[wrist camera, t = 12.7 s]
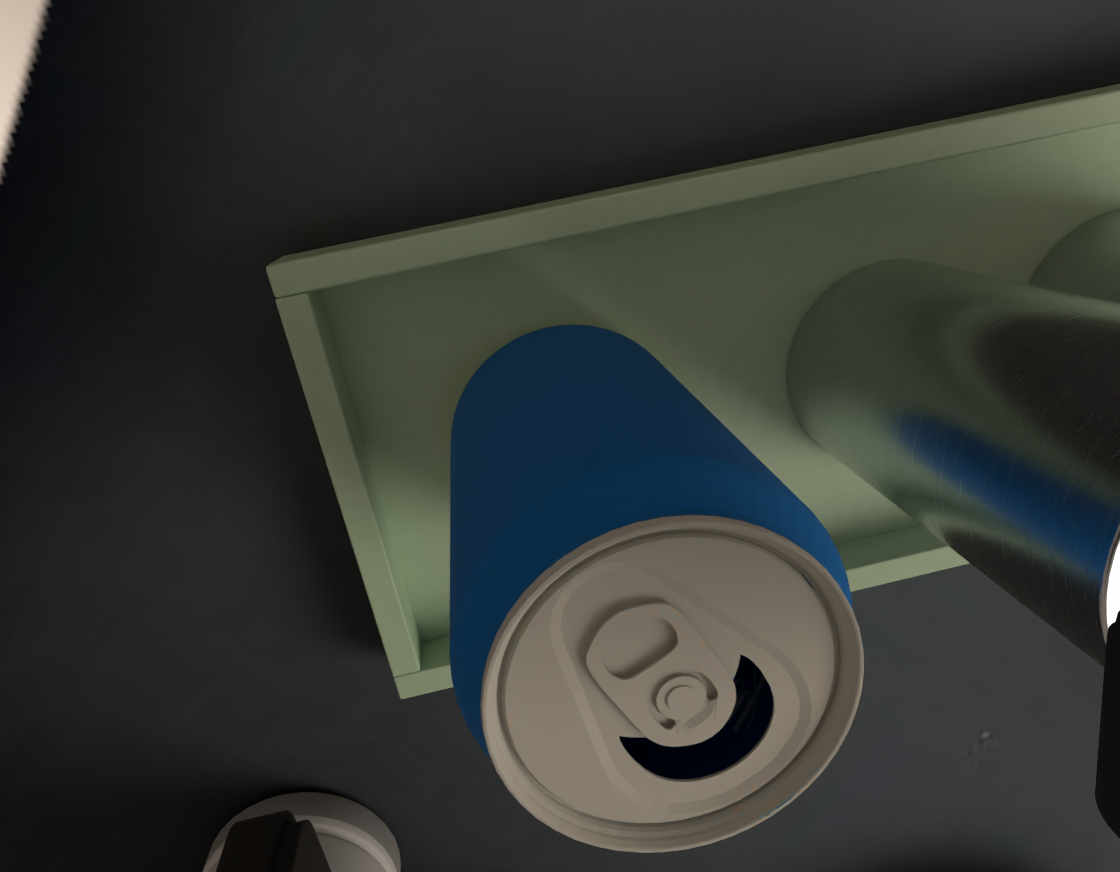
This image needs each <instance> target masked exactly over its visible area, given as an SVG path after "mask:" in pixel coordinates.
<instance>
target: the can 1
mask: <svg viewBox="0 0 1120 872" xmlns="http://www.w3.org/2000/svg"><path fill="white" fill-rule="evenodd" d="M787 390H788V396H789V401H790V404H791V407H792V410H793V413H794V415H795V417H796V419H797V421H798V423H799V424H800V426H801V427H802V429H803V430H804V431H805V433H806V434H807V435H808V436H809V437H810V438H811V439H812V440H813V441H814V442H815V443H817V444H818V445H819V446H820V447H822V448H823V449H824V450H826V451H827V452H828V453H829V454H831V455H832V456H833V457H835V458H836V459H837V460H838V461H840V462H841V463H842V464H844V465H845V466H846V467H847V468H849V469H850V470H851V471H853V472H854V473H855V474H856V475H858V476H859V477H860V478H862V479H863V480H864V481H865V482H867V483H868V484H869V485H870V486H872V487H873V488H874V489H876V490H877V491H878V492H879V493H881V494H882V495H883V496H885V497H886V498H887V499H888V500H890V501H891V502H892V503H894V504H895V505H896V506H897V507H899V508H900V509H901V510H903V511H904V512H905V513H906V514H908V515H909V516H910V517H912V518H913V519H914V520H915V521H917V522H918V523H919V524H921V525H922V526H923V527H924V528H926V529H927V530H928V531H930V532H931V533H932V534H933V535H935V536H936V537H937V538H938V539H940V540H941V541H942V542H944V543H945V544H946V545H947V546H949V547H950V548H951V549H953V550H954V551H955V552H956V553H958V554H959V555H960V556H962V557H963V558H964V559H965V560H967V561H968V562H969V563H971V564H972V565H973V566H974V567H976V568H977V569H978V570H980V571H981V572H982V573H983V574H985V575H986V576H987V577H989V578H990V579H991V580H992V581H994V582H995V583H996V584H998V585H999V586H1000V587H1001V588H1003V589H1004V590H1005V591H1006V592H1008V593H1009V594H1010V595H1012V596H1013V597H1014V598H1015V599H1017V600H1018V601H1019V602H1021V603H1022V604H1023V605H1024V606H1026V607H1027V608H1028V609H1030V610H1031V611H1032V612H1033V613H1035V614H1036V615H1037V616H1039V617H1040V618H1041V619H1042V620H1044V621H1045V622H1046V623H1048V624H1049V625H1050V626H1051V627H1053V628H1054V629H1055V630H1057V631H1058V632H1059V633H1060V634H1062V635H1063V636H1064V637H1065V638H1067V639H1068V640H1069V641H1071V642H1072V643H1073V644H1074V645H1076V646H1077V647H1078V648H1080V649H1081V650H1082V651H1083V652H1085V653H1086V654H1087V655H1089V656H1090V657H1091V658H1092V659H1094V660H1095V661H1096V662H1098V663H1099V664H1100V665H1101V666H1103V667H1104V668H1105V655H1106V641H1107V632H1108V628H1109V626H1110V625H1111V624H1112V623H1113V622H1115V621H1116V617H1117V613H1118V611H1119V610H1120V303H1115V302H1111V301H1106V300H1101V299H1097V298H1092V297H1087V296H1083V295H1078V294H1074V293H1069V292H1064V291H1060V290H1055V289H1050V288H1046V287H1041V286H1036V285H1032V284H1027V283H1023V282H1018V281H1013V280H1009V279H1004V278H999V277H995V276H990V275H986V274H981V273H976V272H972V271H967V270H962V269H958V268H953V267H949V266H944V265H939V264H935V263H930V262H925V261H921V260H913V259H891V260H884V261H879V262H876V263H872V264H869V265H866V266H864V267H861V268H859V269H857V270H854V271H853V272H851V273H849V274H848V275H846V276H844V277H842V278H841V279H840V280H838V281H837V282H836V283H834V284H833V285H832V286H830V287H829V288H828V289H827V290H826V291H825V292H824V293H823V294H822V295H821V296H820V297H819V298H818V299H817V300H816V302H815V303H814V304H813V305H812V306H811V308H810V309H809V311H808V312H807V314H806V315H805V317H804V318H803V320H802V322H801V324H800V326H799V328H798V330H797V332H796V334H795V337H794V339H793V342H792V345H791V348H790V353H789V357H788V364H787Z"/></svg>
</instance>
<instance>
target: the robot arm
mask: <svg viewBox="0 0 1120 872" xmlns="http://www.w3.org/2000/svg"><path fill="white" fill-rule="evenodd" d="M1095 797H1096V802H1097V806H1098V809H1099V811H1100V813H1101V815H1102V817H1103V818H1104V820H1105V822H1106V823H1107V825H1108V826H1109V827H1110V828H1111V829H1112V831H1113V832H1114V833H1115V834H1116V835H1117V836H1118V837H1119V838H1120V610H1119V611H1118V613H1117V617H1116V621H1115V622H1113V623H1112V624H1111V625H1110V626H1109V628H1108V632H1107V641H1106V655H1105V668H1104V681H1103V695H1102V708H1101V722H1100V735H1099V748H1098V762H1097V775H1096V789H1095ZM216 872H331V869H330V867H329V864H328V862H327V859H326V857H325V854H324V852H323V849H322V847H321V844H320V842H319V839H318V837H317V834H316V832H315V829H314V827H313V825H312V823H311V822H310V821H309V820H308V819H307V820H302V821H298V822H297V821H296V819H295V817H294V816H293V814H292V813H291V812H290V811H289V810H283V811H279V812H275V813H271V814H267V815H263V816H259V817H255V818H251V819H246V820H242V821H238V822H235V823H234V824H233V825H232V826H231V828H230V830H229V832H228V835H227V838H226V841H225V844H224V847H223V850H222V853H221V856H220V859H219V863H218V866H217V869H216Z"/></svg>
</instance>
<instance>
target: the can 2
mask: <svg viewBox="0 0 1120 872" xmlns="http://www.w3.org/2000/svg"><path fill="white" fill-rule="evenodd" d="M1029 284H1032V285H1036V286H1041V287H1046V288H1050V289H1055V290H1060V291H1064V292H1069V293H1074V294H1078V295H1083V296H1087V297H1092V298H1097V299H1101V300H1106V301H1111V302H1115V303H1120V210H1115V211H1112V212H1108V213H1105V214H1103V215H1100V216H1098V217H1096V218H1093V219H1091V220H1089V221H1088V222H1086V223H1084V224H1082V225H1081V226H1079V227H1077V228H1076V229H1075V230H1073V231H1072V232H1071V233H1069V234H1068V235H1067V236H1065V237H1064V238H1063V239H1062V240H1061V241H1060V242H1059V243H1058V244H1057V245H1056V246H1055V247H1054V248H1053V249H1052V250H1051V251H1050V252H1049V254H1048V255H1047V256H1046V257H1045V258H1044V260H1043V261H1042V263H1041V264H1040V265H1039V267H1038V268H1037V270H1036V272H1035V273H1034V275H1033V277H1032V279H1031V280H1030V282H1029Z"/></svg>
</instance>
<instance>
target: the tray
mask: <svg viewBox="0 0 1120 872" xmlns="http://www.w3.org/2000/svg"><path fill="white" fill-rule="evenodd" d="M1115 210H1120V84H1116V85H1111V86H1106V87H1101V88H1097V89H1092V90H1087V91H1082V92H1077V93H1072V94H1067V95H1063V96H1058V97H1053V98H1048V99H1043V100H1038V101H1033V102H1029V103H1024V104H1019V105H1014V106H1009V107H1004V108H999V109H995V110H990V111H985V112H980V113H975V114H970V115H965V116H961V117H956V118H951V119H946V120H941V121H936V122H932V123H927V124H922V125H917V126H912V127H907V128H902V129H898V130H893V131H888V132H883V133H878V134H873V135H868V136H864V137H859V138H854V139H849V140H844V141H839V142H834V143H830V144H825V145H820V146H815V147H810V148H805V149H800V150H796V151H791V152H786V153H781V154H776V155H771V156H767V157H762V158H757V159H752V160H747V161H742V162H737V163H733V164H728V165H723V166H718V167H713V168H708V169H703V170H699V171H694V172H689V173H684V174H679V175H674V176H669V177H665V178H660V179H655V180H650V181H645V182H640V183H635V184H631V185H626V186H621V187H616V188H611V189H606V190H601V191H597V192H592V193H587V194H582V195H577V196H572V197H568V198H563V199H558V200H553V201H548V202H543V203H538V204H534V205H529V206H524V207H519V208H514V209H509V210H504V211H500V212H495V213H490V214H485V215H480V216H475V217H470V218H466V219H461V220H456V221H451V222H446V223H441V224H436V225H432V226H427V227H422V228H417V229H412V230H407V231H403V232H398V233H393V234H388V235H383V236H378V237H373V238H369V239H364V240H359V241H354V242H349V243H344V244H339V245H335V246H330V247H325V248H320V249H315V250H310V251H305V252H301V253H296V254H291V255H286V256H282V257H280V258H279V259H278V260H276V261H274V262H273V263H271V264H269V265H268V266H266V271H267V275H268V278H269V281H270V284H271V287H272V291H273V294H274V296H275V297H276V298H277V299H276V301H275V302H276V305H277V308H278V311H279V314H280V317H281V321H282V324H283V327H284V330H285V333H286V337H287V340H288V343H289V346H290V349H291V353H292V356H293V359H294V362H295V365H296V369H297V372H298V375H299V378H300V381H301V384H302V388H303V391H304V394H305V397H306V400H307V404H308V407H309V410H310V413H311V416H312V420H313V423H314V426H315V429H316V432H317V435H318V439H319V442H320V445H321V448H322V451H323V455H324V458H325V461H326V464H327V467H328V471H329V474H330V477H331V480H332V483H333V486H334V490H335V493H336V496H337V499H338V502H339V506H340V509H341V512H342V515H343V518H344V522H345V525H346V528H347V531H348V534H349V538H350V541H351V544H352V547H353V550H354V553H355V557H356V560H357V563H358V566H359V569H360V573H361V576H362V579H363V582H364V585H365V589H366V592H367V595H368V598H369V601H370V604H371V608H372V611H373V614H374V617H375V620H376V624H377V627H378V630H379V633H380V636H381V640H382V643H383V646H384V649H385V652H386V655H387V659H388V662H389V665H390V668H391V671H392V675H393V676H394V681H395V684H396V687H397V690H398V694H399V697H400V699H405V698H409V697H413V696H417V695H421V694H426V693H430V692H434V691H438V690H442V689H446V688H451V687H453V683H452V678H451V667H450V443H451V427H452V422H453V418H454V413H455V410H456V407H457V404H458V401H459V398H460V396H461V395H462V393H463V391H464V389H465V387H466V385H467V383H468V382H469V380H470V379H471V377H472V376H473V375H474V373H475V372H476V371H477V369H478V368H479V367H480V366H481V365H482V364H483V363H484V362H485V361H486V360H487V359H488V358H489V357H490V356H491V355H492V354H494V353H495V352H496V351H497V350H498V349H500V348H501V347H503V346H505V345H506V344H508V343H509V342H511V341H512V340H514V339H516V338H519V337H521V336H523V335H525V334H527V333H530V332H533V331H536V330H539V329H542V328H547V327H553V326H558V325H574V324H575V325H589V326H595V327H599V328H604V329H608V330H611V331H613V332H616V333H619V334H622V335H623V336H625V337H627V338H629V339H631V340H633V341H635V342H636V343H638V344H639V345H641V346H642V347H643V348H645V349H646V350H647V351H648V352H650V353H651V354H652V355H653V356H654V357H655V358H656V359H657V360H658V361H659V362H660V363H661V364H662V365H663V366H664V367H665V368H666V369H667V370H668V371H669V372H670V373H671V374H672V375H673V376H674V377H675V378H676V379H677V380H678V381H679V382H680V383H681V384H683V385H684V386H685V387H686V388H687V389H688V390H689V391H690V392H691V393H692V394H693V395H694V396H695V397H696V398H697V399H698V400H699V401H700V402H701V403H702V404H703V405H704V406H705V407H706V408H707V409H708V410H709V411H710V412H711V413H712V414H713V415H714V416H715V417H716V418H717V419H718V420H719V421H720V422H721V423H722V424H723V425H724V426H725V427H726V428H727V429H728V430H730V431H731V432H732V433H733V434H734V435H735V436H736V437H737V438H738V439H739V440H740V441H741V442H742V443H743V444H744V445H745V446H746V447H747V448H748V449H749V450H750V451H751V452H752V453H753V454H754V455H755V456H756V457H757V458H758V459H759V460H760V461H761V462H762V463H763V464H764V465H765V466H766V467H767V468H768V469H769V470H770V471H771V472H772V473H773V474H774V475H775V476H777V477H778V478H779V479H780V480H781V481H782V482H783V483H784V484H785V485H786V486H787V487H788V488H789V489H790V490H791V491H792V492H793V493H794V494H795V495H796V496H797V497H798V498H799V499H800V500H801V501H802V502H803V503H804V504H805V505H806V506H807V507H808V508H809V509H810V510H811V511H812V512H813V513H814V514H815V516H816V517H817V518H818V520H819V521H820V522H821V523H822V525H823V526H824V527H825V529H826V530H827V532H828V533H829V535H830V537H831V539H832V541H833V542H834V544H835V546H836V548H837V550H838V552H839V554H840V557H841V560H842V563H843V565H844V568H845V571H846V574H847V577H848V582H849V587H850V592H852V591H856V590H860V589H864V588H869V587H873V586H877V585H881V584H885V583H889V582H894V581H898V580H902V579H906V578H910V577H915V576H919V575H923V574H927V573H931V572H935V571H940V570H944V569H948V568H952V567H956V566H961V565H965V564H969V562H968V561H967V560H965V559H964V558H963V557H962V556H960V555H959V554H958V553H956V552H955V551H954V550H953V549H951V548H950V547H949V546H947V545H946V544H945V543H944V542H942V541H941V540H940V539H938V538H937V537H936V536H935V535H933V534H932V533H931V532H930V531H928V530H927V529H926V528H924V527H923V526H922V525H921V524H919V523H918V522H917V521H915V520H914V519H913V518H912V517H910V516H909V515H908V514H906V513H905V512H904V511H903V510H901V509H900V508H899V507H897V506H896V505H895V504H894V503H892V502H891V501H890V500H888V499H887V498H886V497H885V496H883V495H882V494H881V493H879V492H878V491H877V490H876V489H874V488H873V487H872V486H870V485H869V484H868V483H867V482H865V481H864V480H863V479H862V478H860V477H859V476H858V475H856V474H855V473H854V472H853V471H851V470H850V469H849V468H847V467H846V466H845V465H844V464H842V463H841V462H840V461H838V460H837V459H836V458H835V457H833V456H832V455H831V454H829V453H828V452H827V451H826V450H824V449H823V448H822V447H820V446H819V445H818V444H817V443H815V442H814V441H813V440H812V439H811V438H810V437H809V436H808V435H807V434H806V433H805V431H804V430H803V429H802V427H801V426H800V424H799V423H798V421H797V419H796V417H795V415H794V413H793V410H792V407H791V404H790V401H789V396H788V390H787V364H788V357H789V353H790V348H791V345H792V342H793V339H794V337H795V334H796V332H797V330H798V328H799V326H800V324H801V322H802V320H803V318H804V317H805V315H806V314H807V312H808V311H809V309H810V308H811V306H812V305H813V304H814V303H815V302H816V300H817V299H818V298H819V297H820V296H821V295H822V294H823V293H824V292H825V291H826V290H827V289H828V288H829V287H830V286H832V285H833V284H834V283H836V282H837V281H838V280H840V279H841V278H842V277H844V276H846V275H848V274H849V273H851V272H853V271H854V270H857V269H859V268H861V267H864V266H866V265H869V264H872V263H876V262H879V261H884V260H891V259H913V260H921V261H925V262H930V263H935V264H939V265H944V266H949V267H953V268H958V269H962V270H967V271H972V272H976V273H981V274H986V275H990V276H995V277H999V278H1004V279H1009V280H1013V281H1018V282H1023V283H1027V284H1029V282H1030V280H1031V279H1032V277H1033V275H1034V273H1035V272H1036V270H1037V268H1038V267H1039V265H1040V264H1041V263H1042V261H1043V260H1044V258H1045V257H1046V256H1047V255H1048V254H1049V252H1050V251H1051V250H1052V249H1053V248H1054V247H1055V246H1056V245H1057V244H1058V243H1059V242H1060V241H1061V240H1062V239H1063V238H1064V237H1065V236H1067V235H1068V234H1069V233H1071V232H1072V231H1073V230H1075V229H1076V228H1077V227H1079V226H1081V225H1082V224H1084V223H1086V222H1088V221H1089V220H1091V219H1093V218H1096V217H1098V216H1100V215H1103V214H1105V213H1108V212H1112V211H1115Z"/></svg>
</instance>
